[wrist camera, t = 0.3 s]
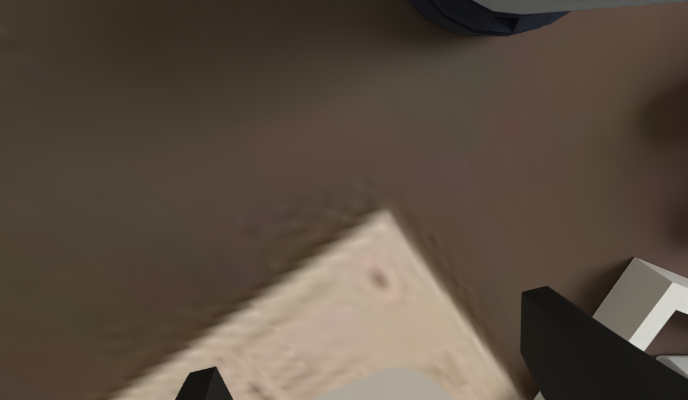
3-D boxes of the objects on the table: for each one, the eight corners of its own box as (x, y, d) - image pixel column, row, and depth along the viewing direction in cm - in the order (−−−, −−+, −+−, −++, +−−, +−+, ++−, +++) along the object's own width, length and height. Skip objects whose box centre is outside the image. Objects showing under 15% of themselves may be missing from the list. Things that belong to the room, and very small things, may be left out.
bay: (650, 462, 29) (681, 499, 27) (513, 427, 26) (535, 465, 24) (777, 314, 25) (825, 343, 23) (634, 257, 23) (672, 282, 21)
